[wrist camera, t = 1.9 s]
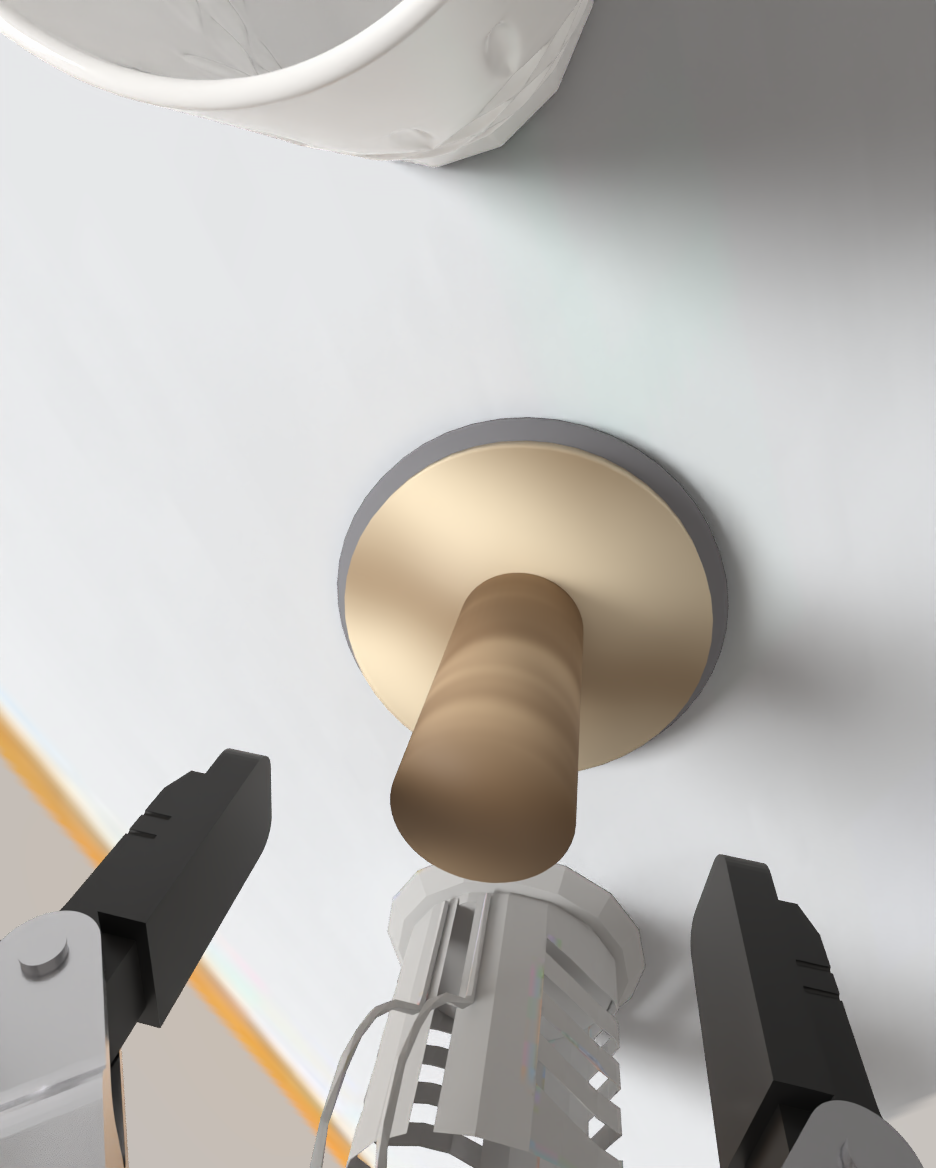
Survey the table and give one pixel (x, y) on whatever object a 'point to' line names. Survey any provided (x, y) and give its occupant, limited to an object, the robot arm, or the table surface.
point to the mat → (566, 436)
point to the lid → (521, 642)
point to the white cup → (321, 65)
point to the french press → (499, 1022)
